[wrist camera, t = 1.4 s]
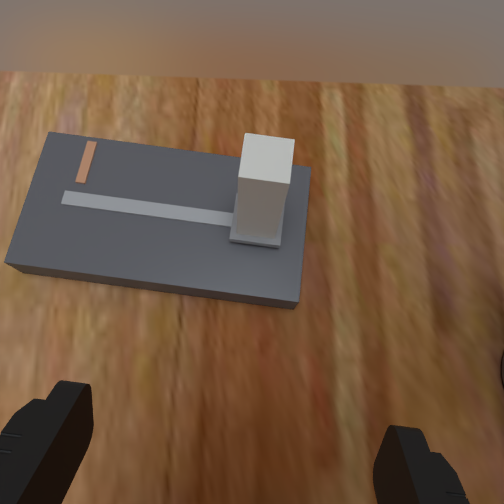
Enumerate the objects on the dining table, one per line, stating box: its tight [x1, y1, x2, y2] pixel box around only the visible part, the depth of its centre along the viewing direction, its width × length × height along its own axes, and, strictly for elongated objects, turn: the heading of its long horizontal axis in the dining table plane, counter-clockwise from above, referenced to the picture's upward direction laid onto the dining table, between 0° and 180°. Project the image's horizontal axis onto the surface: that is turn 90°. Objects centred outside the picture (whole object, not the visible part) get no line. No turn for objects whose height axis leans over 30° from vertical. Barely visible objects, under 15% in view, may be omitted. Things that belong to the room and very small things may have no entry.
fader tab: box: [229, 133, 295, 248], centre depth 29 cm, size 4×4×10 cm
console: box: [4, 132, 311, 309], centre depth 35 cm, size 23×12×3 cm, turn 83°
